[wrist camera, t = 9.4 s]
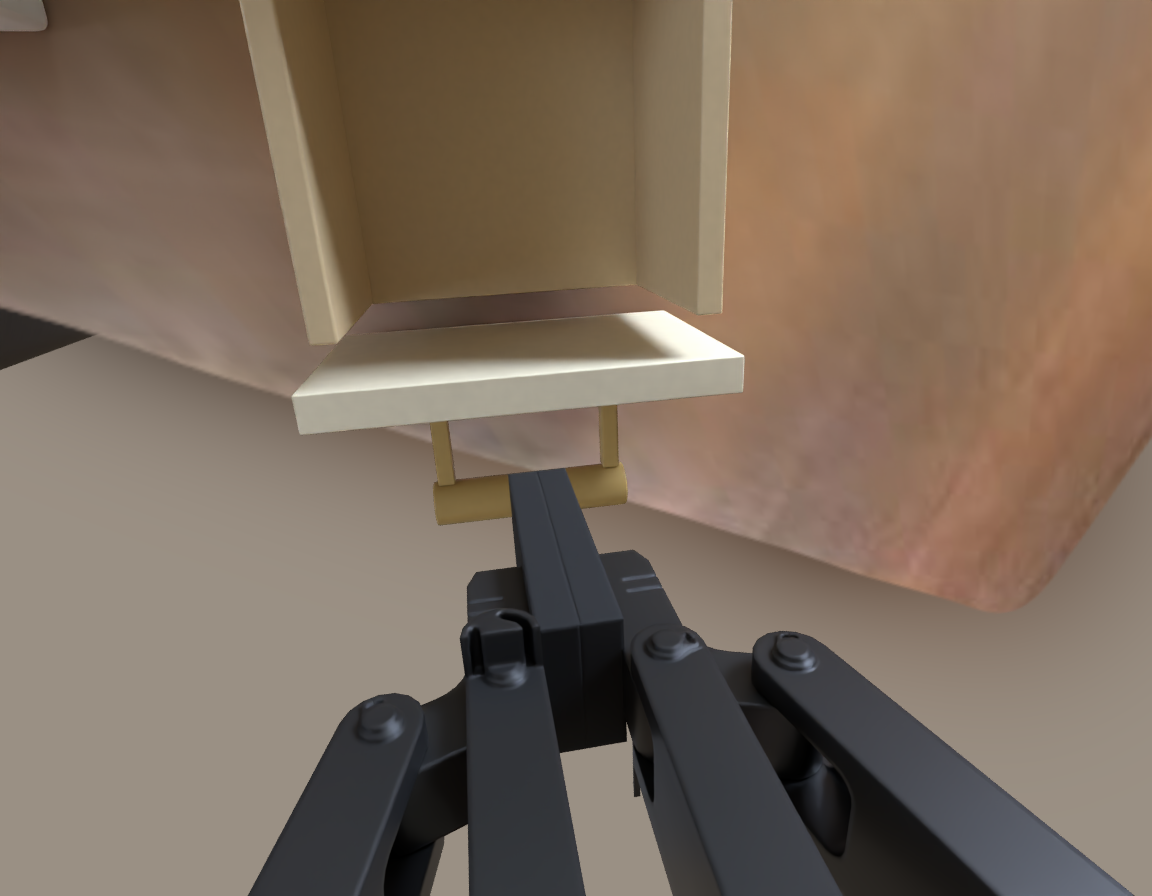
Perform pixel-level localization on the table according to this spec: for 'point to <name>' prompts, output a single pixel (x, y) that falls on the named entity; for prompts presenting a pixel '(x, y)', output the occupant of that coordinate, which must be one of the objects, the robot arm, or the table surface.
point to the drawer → (499, 207)
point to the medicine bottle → (22, 15)
